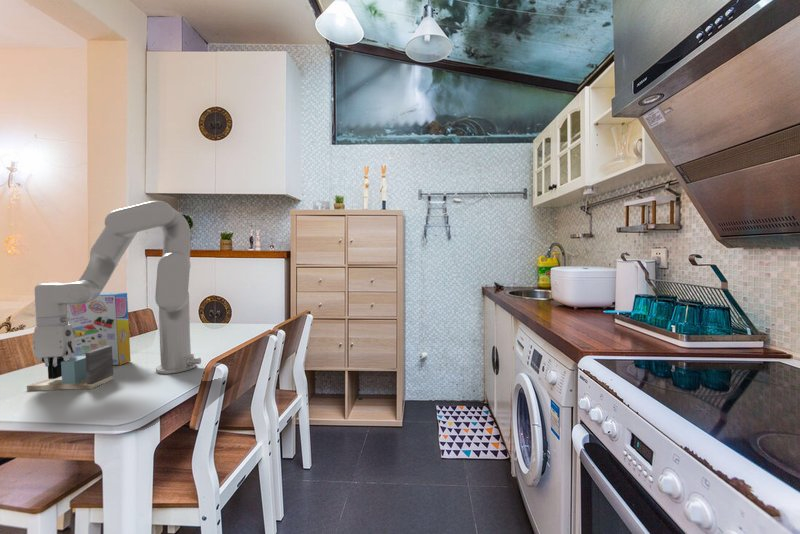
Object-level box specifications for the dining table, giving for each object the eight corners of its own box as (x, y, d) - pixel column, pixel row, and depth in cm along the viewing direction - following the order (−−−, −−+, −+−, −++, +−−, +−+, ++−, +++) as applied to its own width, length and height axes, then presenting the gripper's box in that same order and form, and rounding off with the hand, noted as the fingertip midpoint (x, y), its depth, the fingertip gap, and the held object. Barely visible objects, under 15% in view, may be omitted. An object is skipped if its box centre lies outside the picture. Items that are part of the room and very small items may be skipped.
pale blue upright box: (92, 376, 125) (91, 355, 125) (75, 383, 118) (74, 361, 118) (80, 376, 125) (79, 355, 125) (62, 384, 118) (60, 362, 118)
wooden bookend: (113, 379, 127) (111, 345, 126) (92, 389, 118) (90, 352, 117) (52, 380, 126) (51, 346, 126) (26, 390, 117) (24, 354, 117)
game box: (131, 361, 147) (128, 292, 146) (119, 366, 142) (116, 294, 141) (83, 361, 150) (79, 292, 148) (69, 365, 144) (66, 294, 143)
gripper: (85, 318, 125) (88, 373, 126) (39, 319, 125) (42, 374, 125) (65, 323, 117) (68, 381, 118) (17, 324, 117) (20, 382, 118)
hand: (55, 377), depth 122 cm, fingers closed
